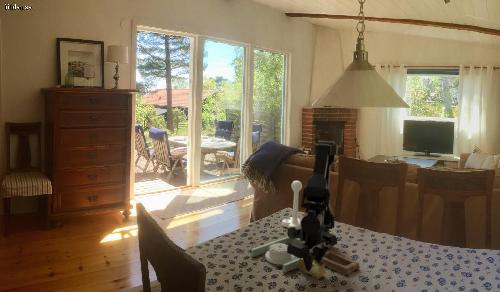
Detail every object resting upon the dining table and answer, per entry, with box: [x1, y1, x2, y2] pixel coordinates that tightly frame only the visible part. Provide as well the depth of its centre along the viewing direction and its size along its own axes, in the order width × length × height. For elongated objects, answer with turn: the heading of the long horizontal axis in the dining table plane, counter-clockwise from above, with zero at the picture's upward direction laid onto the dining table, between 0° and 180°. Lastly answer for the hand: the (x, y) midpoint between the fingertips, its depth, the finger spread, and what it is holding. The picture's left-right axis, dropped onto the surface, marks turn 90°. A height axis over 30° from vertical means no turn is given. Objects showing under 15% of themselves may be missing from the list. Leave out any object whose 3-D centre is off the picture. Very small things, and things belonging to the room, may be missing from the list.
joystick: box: [281, 180, 303, 229], centre depth 167 cm, size 11×8×20 cm
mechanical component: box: [264, 243, 295, 266], centre depth 137 cm, size 10×4×10 cm
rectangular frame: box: [320, 249, 360, 276], centre depth 134 cm, size 7×12×2 cm, turn 42°
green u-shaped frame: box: [250, 236, 313, 274], centre depth 139 cm, size 20×16×2 cm
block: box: [298, 258, 326, 279], centre depth 128 cm, size 8×3×4 cm, turn 43°
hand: (311, 269), depth 128 cm, fingers closed on block, 3 cm apart
